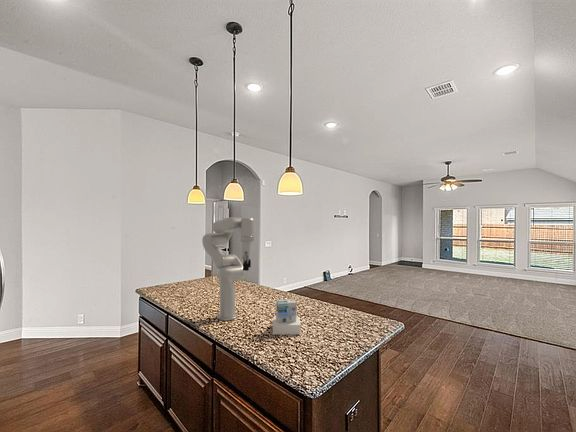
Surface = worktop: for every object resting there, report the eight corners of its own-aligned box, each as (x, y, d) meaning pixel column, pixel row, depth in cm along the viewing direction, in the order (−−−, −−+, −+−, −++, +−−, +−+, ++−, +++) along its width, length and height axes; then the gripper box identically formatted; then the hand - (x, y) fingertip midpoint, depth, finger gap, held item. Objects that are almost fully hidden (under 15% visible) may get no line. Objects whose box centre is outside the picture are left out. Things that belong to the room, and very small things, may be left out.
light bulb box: (277, 323, 153) (278, 303, 153) (275, 318, 160) (275, 300, 160) (296, 321, 155) (296, 302, 156) (294, 317, 162) (294, 298, 162)
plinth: (273, 325, 163) (273, 316, 163) (299, 325, 164) (299, 316, 164) (272, 334, 150) (272, 325, 150) (300, 334, 151) (300, 325, 151)
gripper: (242, 238, 170) (242, 266, 170) (238, 240, 153) (237, 271, 152) (255, 238, 170) (254, 266, 170) (251, 240, 153) (251, 271, 152)
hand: (246, 268), depth 161 cm, fingers open, 9 cm apart
